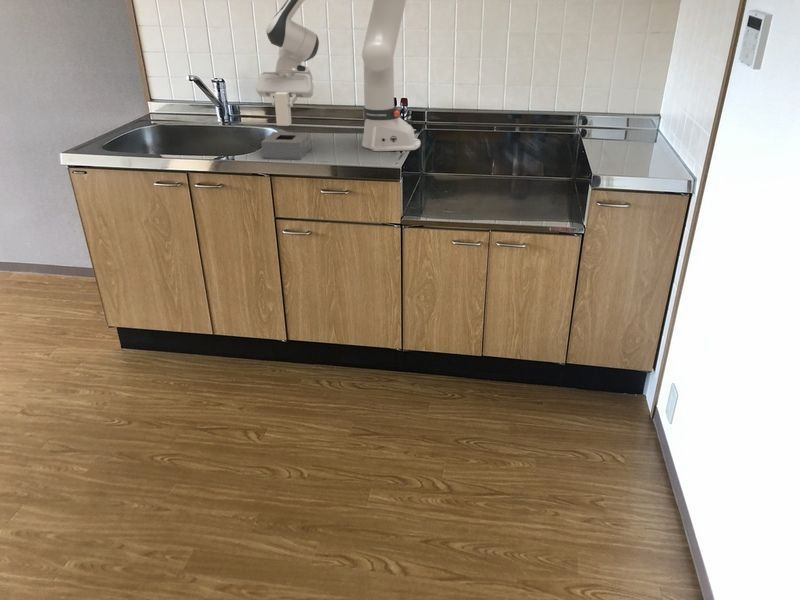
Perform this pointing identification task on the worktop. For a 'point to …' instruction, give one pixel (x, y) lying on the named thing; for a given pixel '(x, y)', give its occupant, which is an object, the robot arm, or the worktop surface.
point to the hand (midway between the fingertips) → (282, 106)
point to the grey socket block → (286, 145)
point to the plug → (282, 108)
